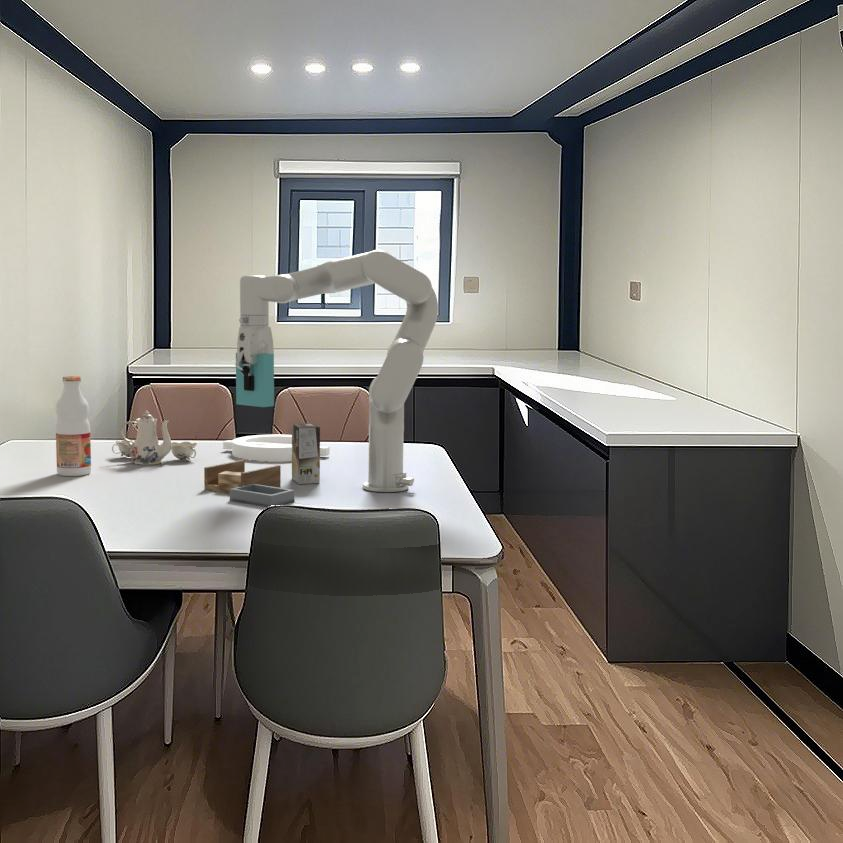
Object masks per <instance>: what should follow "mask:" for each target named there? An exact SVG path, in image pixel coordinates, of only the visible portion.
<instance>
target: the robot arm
mask: <svg viewBox="0 0 843 843" xmlns="http://www.w3.org/2000/svg"><path fill="white" fill-rule="evenodd" d="M374 284H376V285H377V286H379V287H381V288H382V289H384V290H386V291H388V292H389V293H391V294H393V295H394V296H396V297H399V298H400V299H402V300H403V301H405V303H406V312H405V314H404V317H403V319H402V322H401V324H400V326H399V329H398V331H397V333H396V335H395V336H394V339H393V341H392V342H391V344H390V345H389V346H388V349H387V352H386V358H385V359H384V361H383V364H382V366H381V368H380V370H379V372H378V374H377V376H375V377H374V378H373V379H372V381H371V383H370V385H369V388H368V414H369V416H368V417H369V418H368V478H367V480H368V481H365V482H363V483H362V489H363V490H366V491H368V492H374V493H375V492H376V493H377V492H378V493H396V492H397V493H398V492H403V491H406V490H408V489H409V487H412V486H414V483H415V478H414V477H407V472H406V471H404V432H405V402H406V400H407V399H408V396H409V394H410V392H411V390H412V389H413V386H414V384H415V382H416V380H417V378H418V375H419V374H420V371H421V369H422V366H423V364H424V358H425V357H424V351H425V349H426V346H427V344H428V342H429V340H430V338H431V335H432V333H433V330H434V328H435V326H436V322H437V319H438V316H439V303H438V297H437V294H436V292H435V290H434V288H433V287H432V286H433V285H432V282H431V280H430V278H429V277H428V276H427V275H426V274H425V273H424V272H421V271H420V270H418V269H416V268H414V267H412V266H410V265H409V264H407V263H405V262H404V261H402V260H401V259H399V258H396V257H395V256H393V255H392V254H390V253H388V252H387V251H385V250H382V249H374V250H371V251H368V252H364V253H359V254H354V255H351V256H346V257H342V258H338V259H333V260H330V261H326V262H324V263H322V264H320V265H317V266H314V267H310V268H307V269H302V270H298V271H294V272H289V273H285V274H277V275H268V276H265V275H261V274H260V275H259V274H257V275H256V274H252V275H251V274H247V275H246V274H245V275H242V276H241V277H240V279H239V309H240V310H239V313H240V315H239V320H238V322H239V323H240V324H239V325H240V327H239V328H238V334H237V343H236V344H237V345H236V346H237V347H236V353H237V361H236V360H235V363H234V366H235V368H236V367H238V368H239V369H240V371H241V372H242V375H243V376H244V390H247V391H254V376H252V374H253V366H254V365H256V364H257V363H258V354H267V353H268V354H274V352H275V351H274V340H273V333H272V328H271V326H270V325H269V324H270V322H269V316H270V315H269V309H270V308H269V306H270V304H269V302H271V303H277V304H287V303H290V302H293V301H297V300H301V299H305V298H309V297H314V296H318V295H323V294H325V295H326V294H328V295H329V294H336V293H341V292H344V291H350V290H354V289H357V288H361V287H366V286H369V285H374ZM274 355H275V354H274ZM247 362H248V363H249V364H247ZM247 366H249V369H248V368H247Z"/></svg>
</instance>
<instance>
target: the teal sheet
mask: <svg viewBox="0 0 843 843" xmlns="http://www.w3.org/2000/svg"><path fill="white" fill-rule="evenodd" d="M236 361H237V352H235V362H236ZM247 364H249V363H248V362H247ZM247 368H248V369H249V366H247ZM252 376H254V391H247V390H244V376H243V375H242V372H241V371H240V369H239V368H238V367H236V366H235V384H236V385H235V390H236V392H235V393H236V395H235V396H236V398H235V399H236V400H235V402H236V405H238V406H239V405H241V406H250V407H259V408H267V407H268V408H269V407H275V354H268V353H267V354H258V363H257V364H256V365H254V366H253V374H252Z"/></svg>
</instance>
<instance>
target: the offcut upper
mask: <svg viewBox="0 0 843 843" xmlns="http://www.w3.org/2000/svg"><path fill="white" fill-rule="evenodd" d="M218 483H226V484H238V485H241V472H229V471H225V472H222V473H219V474H218Z"/></svg>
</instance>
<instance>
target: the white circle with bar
mask: <svg viewBox="0 0 843 843" xmlns="http://www.w3.org/2000/svg"><path fill="white" fill-rule="evenodd" d="M222 449H223V450H231V455H233V456H232V457H234V456H235V457H234V458H236V457H238V458H237V459H239V458H243V459H242V460H244V459H250V460H249V461H251V460H258V461H257V462H264V461H268V463H269V462H270V463H271V462H272V463H276V462H277V463H278V462H280V463H282V462H285V463H286V462H292V434H279V433H278V434H256V435H246V436H241V437H239V436H238V437H236V438H233V439H232V440H229V439H228V440H224V441H223V442H222ZM329 455H330V446H326V445H325V446H321V445H320V457H327V456H329Z"/></svg>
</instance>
